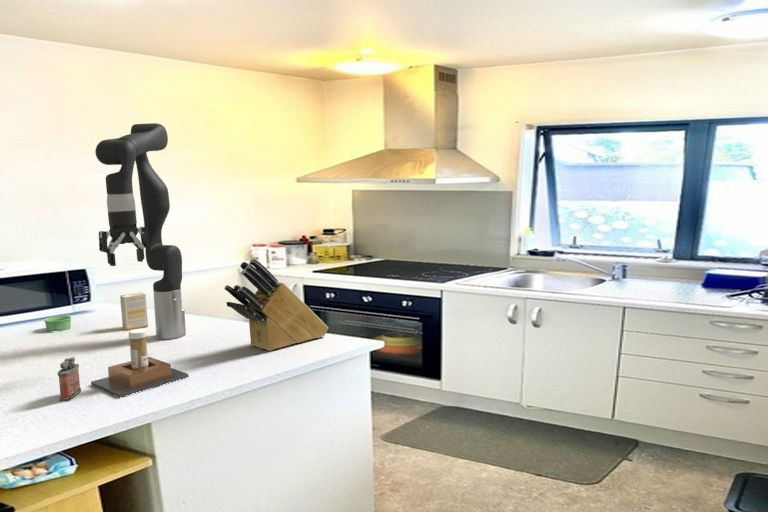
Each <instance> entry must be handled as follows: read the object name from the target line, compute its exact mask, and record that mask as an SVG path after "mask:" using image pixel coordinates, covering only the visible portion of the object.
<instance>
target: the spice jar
mask: <svg viewBox="0 0 768 512" xmlns="http://www.w3.org/2000/svg"><path fill="white" fill-rule="evenodd" d="M147 335H148V332H147V329H144V328H137V329H132V330H128V339H129V345H130V347H129V348H130V349H129V350H130V351H129V352H130V361H131V366H132V371H137V370H141V369H144V368H148V357H149V356H148V343H147Z"/></svg>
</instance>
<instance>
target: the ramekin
mask: <svg viewBox="0 0 768 512" xmlns="http://www.w3.org/2000/svg"><path fill="white" fill-rule="evenodd" d="M71 321H72V316H70V315H57V316H51V317H47V318H45V319H44V323H45V327H46V329H45V330H46V331H47V332H49V331H59V332H64V331H63V330H65V331H67V329H68V330H69V329H71V323H72V322H71Z"/></svg>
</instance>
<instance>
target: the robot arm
mask: <svg viewBox="0 0 768 512" xmlns="http://www.w3.org/2000/svg"><path fill="white" fill-rule="evenodd" d="M168 141H169V137H168V132H167V128H166V127H165V126H164V125H162V124H161V123H152V122H150V123H135V124H132V126H131V129H130V133H129V134H126V135H122V136H120V137H116V138H109V139H104V140H101V141H99V142H98V143H97V144H96V146H95V147H96V148H95V157H96V158H97V160H98V161H99V162H100V163H101V164H102V165H105V166H115V165H116V166H120V169H119V170H118V171H116V172H112V173H109V174H107V175H106V176H105V187H106V208H107V217H108V220H107V221H108V225H109V229H108V231H107V230H106V231H105V230H100V231H99V232H98V250H99V251H100V252H101V253H106V257H107V263H108V265H109V266H111V267H116V265H117V263H116V254H115V251H116V249H117V248H118V247H119V245H125V244H132V245H134V246H135V247H136V249H135V251H136V260H137V262H139V263H142V262H144V260H146V261H145V262H146V264H147V266H148V268H149V269H150V270H152V271H156V272H157V271H158V272H163V273H162V274H163V277H162V278H161V279H159V280H156V281H154V282H153V284H152V290H153V303H154V305H153V306H154V321H155V333H156V336H155V337H156V339H158V340H173V339H178V338H182V337H183V336H186V335H187V331H186V330H187V329H186V316H185V315H186V312H185V309H184V308H183V304H182V303H183V301H182V288H181V287H182V281H183V256H182V252H181V249H180V248H179V247H178V246H177V245H172V244H171V245H170V244H163V241H162V240H163V238H162V230H163V226H164V225H165V224H164V223H165V222H166V219H167V218H168V214H170V213H169V212H170V207H171V206H170V205H171V204H170V197H169V196H170V195H169V189H168V187H167V185H166V183H165V182H164V180H163V179H162V178H161V177H160V176H159V174H158V173H157V171H155V170H154V168H153V167H152V165H151V163H150V161H149V158H148V155H147V153H149V152H158V151H162V150H164V149H166V148H167V145H168V143H169V142H168ZM135 164H136V171H137V172H136V173H137V179H138V186H139V187H138V188H139V196H140V197H139V198H140V204H141V209H142V217H143V226H140V227H137V223H138V221H137V209H136V200H135V196H134V190H133V174H134V168H135ZM138 233H139V235H140V239H139V237H137V235H138ZM109 237H110V238H111V239H110V241H109V242H108V239H109Z"/></svg>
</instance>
